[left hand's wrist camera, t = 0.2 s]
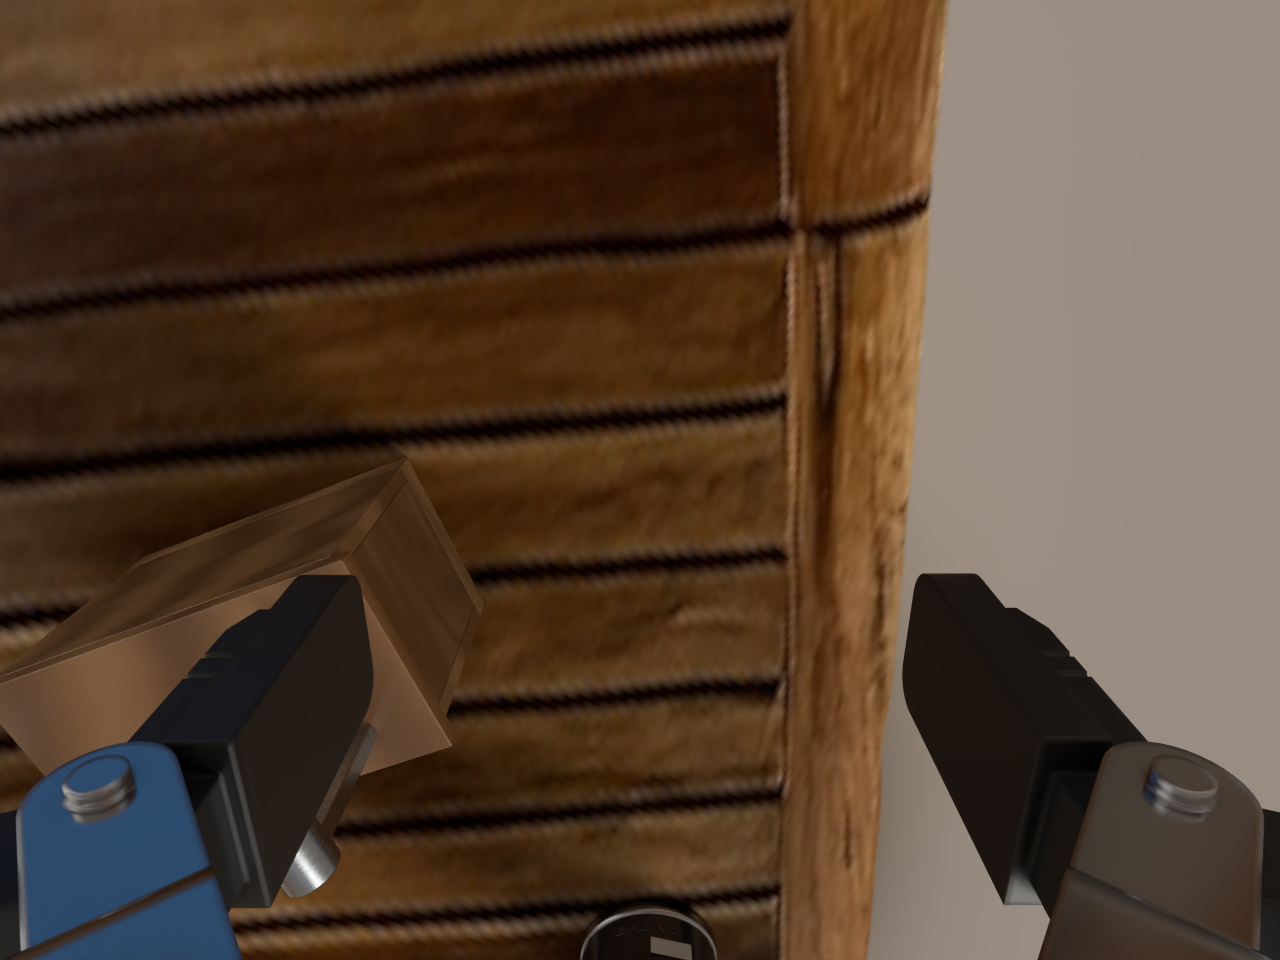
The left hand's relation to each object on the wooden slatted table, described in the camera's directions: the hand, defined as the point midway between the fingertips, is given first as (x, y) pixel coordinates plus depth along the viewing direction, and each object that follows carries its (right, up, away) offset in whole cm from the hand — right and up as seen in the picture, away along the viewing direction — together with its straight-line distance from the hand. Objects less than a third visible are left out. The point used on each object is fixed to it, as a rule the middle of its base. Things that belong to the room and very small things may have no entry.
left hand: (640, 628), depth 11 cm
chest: (-18, -4, +33) cm, 38 cm away
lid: (-18, -8, +22) cm, 30 cm away
